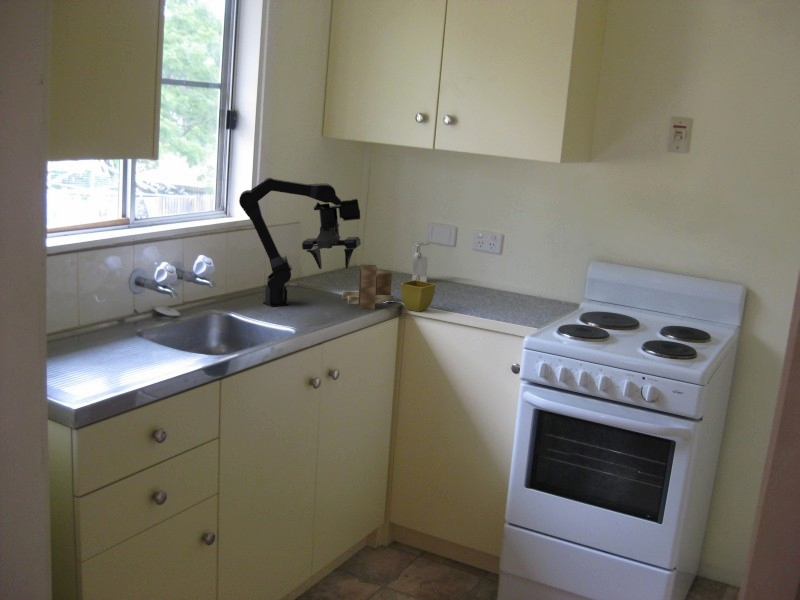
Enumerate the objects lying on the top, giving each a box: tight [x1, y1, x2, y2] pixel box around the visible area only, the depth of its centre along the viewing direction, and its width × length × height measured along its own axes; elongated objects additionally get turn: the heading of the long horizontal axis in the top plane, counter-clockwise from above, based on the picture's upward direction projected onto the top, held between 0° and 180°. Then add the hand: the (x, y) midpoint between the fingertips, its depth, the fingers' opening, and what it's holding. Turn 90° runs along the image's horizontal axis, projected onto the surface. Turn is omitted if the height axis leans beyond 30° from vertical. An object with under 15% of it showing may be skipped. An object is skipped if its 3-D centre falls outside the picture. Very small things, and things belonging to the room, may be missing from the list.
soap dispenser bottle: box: [410, 241, 431, 282], centre depth 342 cm, size 7×7×15 cm
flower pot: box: [400, 279, 437, 313], centre depth 298 cm, size 9×9×9 cm
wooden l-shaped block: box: [341, 270, 395, 305], centre depth 307 cm, size 16×9×10 cm, turn 108°
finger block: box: [358, 264, 378, 310], centre depth 297 cm, size 5×5×14 cm
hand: (333, 268), depth 296 cm, fingers open, 9 cm apart
